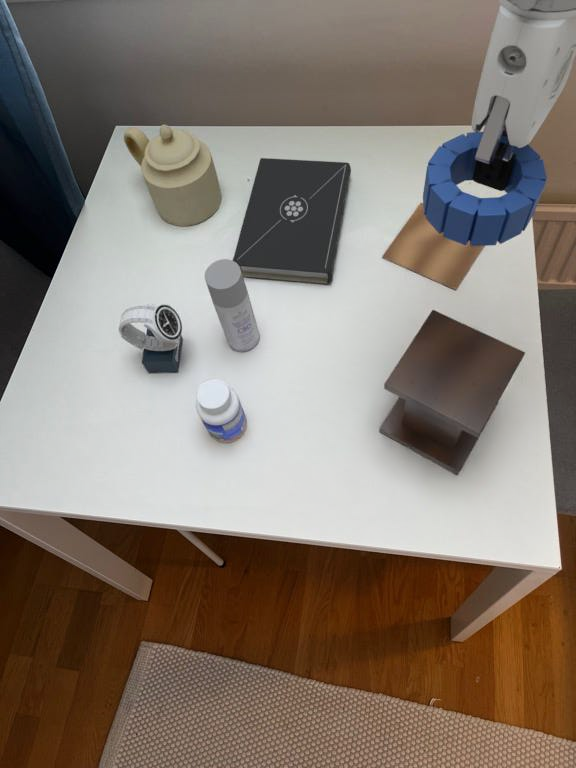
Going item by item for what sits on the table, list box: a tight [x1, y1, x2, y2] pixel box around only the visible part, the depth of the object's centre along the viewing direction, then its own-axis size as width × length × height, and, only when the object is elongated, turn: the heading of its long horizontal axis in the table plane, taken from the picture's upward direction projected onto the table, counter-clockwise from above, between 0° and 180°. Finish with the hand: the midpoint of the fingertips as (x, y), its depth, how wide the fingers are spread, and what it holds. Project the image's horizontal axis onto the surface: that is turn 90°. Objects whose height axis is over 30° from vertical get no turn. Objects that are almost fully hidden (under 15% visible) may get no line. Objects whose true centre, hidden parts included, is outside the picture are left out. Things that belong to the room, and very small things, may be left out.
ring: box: [422, 131, 548, 247], centre depth 53 cm, size 10×10×4 cm
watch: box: [118, 303, 184, 374], centre depth 78 cm, size 6×8×11 cm
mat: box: [381, 202, 485, 291], centre depth 86 cm, size 12×12×1 cm
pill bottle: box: [195, 378, 248, 443], centre depth 73 cm, size 5×5×10 cm
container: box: [204, 258, 261, 353], centre depth 76 cm, size 5×5×15 cm
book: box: [232, 157, 352, 286], centre depth 90 cm, size 22×15×3 cm
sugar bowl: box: [123, 124, 222, 227], centre depth 89 cm, size 15×11×15 cm
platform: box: [379, 309, 526, 476], centre depth 68 cm, size 11×11×14 cm
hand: (496, 172), depth 55 cm, fingers closed on ring, 2 cm apart
